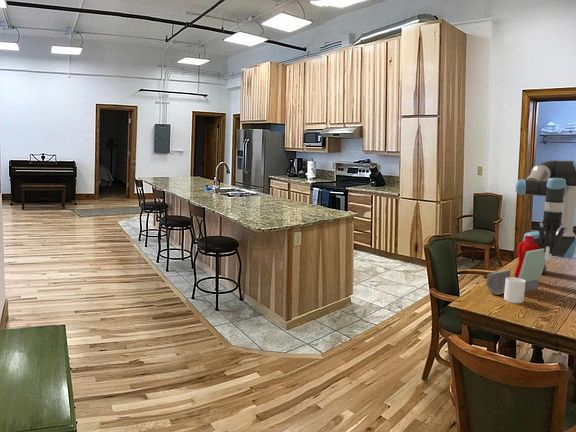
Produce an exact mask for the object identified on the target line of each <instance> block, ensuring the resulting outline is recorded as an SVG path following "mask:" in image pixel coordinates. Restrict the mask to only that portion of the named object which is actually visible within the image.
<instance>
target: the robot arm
mask: <svg viewBox="0 0 576 432" xmlns="http://www.w3.org/2000/svg"><path fill="white" fill-rule="evenodd" d="M515 192H516V194H517V195H524V196H525V195H526V196H527V195H528V196H542V197H545V199H544V209H543V210H544V211H543V219H542V221H541V222H540V223H537V224H536V227H537V228H538V231H528V232H526V233H524V235H523V239H522V242H523V241H524V239H525V236H534V241H533V242H535V243H536V244H537V245H538V247H539V249H544V252H545V260H546V261H551V260H552V257H556V258H557V257H558V258H561V259H572V258H573V257H574V255H575V252H576V234H575V233H574V232H573V231H574V223H575V213H576V160H547V161H544V162H541V163H538V164H536V165H534V167H533V168H532V169H531V171H530V174H529V175H528V176H527V178H526V179H525V178H524V179H523V178H521V179H518V180H517V181H516V184H515ZM546 273H547V265H546V264H545V265H544V268H543V271H542V275H544V274H546Z"/></svg>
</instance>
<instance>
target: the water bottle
mask: <svg viewBox="0 0 576 432" xmlns="http://www.w3.org/2000/svg"><path fill="white" fill-rule="evenodd" d="M523 239H524V238H523ZM533 241H534V236H525V239H524V241H523V240H522V241H520V242H519V243H518V246H517V247H516V250H517V257H518V263H517V265H516V268H515V271H514V276H513V277H515V278H519V275H520V271H521V268H522V264H523V261H524V257H525V254H526V252H527V251H532V250H538V249H539V247H538V245H537V244H536V243H535V242H533Z"/></svg>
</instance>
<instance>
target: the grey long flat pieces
mask: <svg viewBox="0 0 576 432" xmlns="http://www.w3.org/2000/svg"><path fill="white" fill-rule="evenodd" d="M508 277H511V270H510V269H507V270H502V271H496V272H492V273H487V274H486V283H485V285H486V286H487V287H488V282H489V281H490V280H491V279H492V278H501V279H502V280H504V282H505V281H506V278H508ZM538 285H539V279H537V280H532V281H528V282H525V292H524V293H528V292H531V291H535V290H538Z"/></svg>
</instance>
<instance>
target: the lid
mask: <svg viewBox="0 0 576 432" xmlns="http://www.w3.org/2000/svg"><path fill="white" fill-rule="evenodd" d="M546 262H547V260H545V252H544V249H538V250H532V251H527V252H526V254H525V257H524V261H523V264H522V268H521V271H520V275H519V278H520V279H523V280H525V281H526V282H528V281H532V280H537V279H538V280H541V278H542V275H543V274H542V271H543V268H544V265H546Z"/></svg>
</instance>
